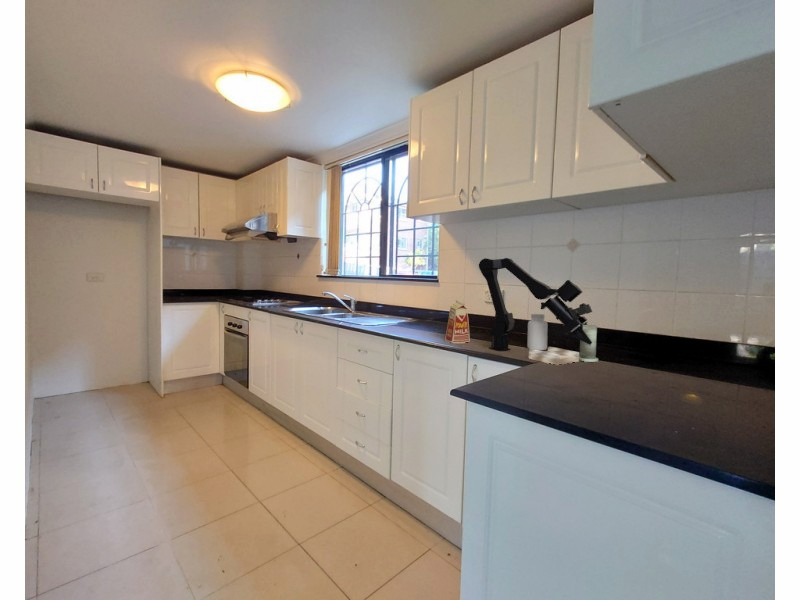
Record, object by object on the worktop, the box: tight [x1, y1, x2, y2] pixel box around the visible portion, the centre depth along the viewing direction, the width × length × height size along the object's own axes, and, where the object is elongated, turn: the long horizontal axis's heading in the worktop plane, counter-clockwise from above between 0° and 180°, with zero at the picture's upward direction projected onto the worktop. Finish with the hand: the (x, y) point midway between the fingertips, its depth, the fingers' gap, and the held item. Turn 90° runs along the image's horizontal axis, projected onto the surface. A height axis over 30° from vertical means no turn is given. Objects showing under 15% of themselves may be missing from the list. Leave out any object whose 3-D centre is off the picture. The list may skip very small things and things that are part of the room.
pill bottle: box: [526, 313, 549, 351], centre depth 147 cm, size 8×8×15 cm
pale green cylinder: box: [579, 324, 599, 363], centre depth 125 cm, size 7×7×13 cm
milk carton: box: [444, 299, 470, 344], centre depth 161 cm, size 9×9×20 cm
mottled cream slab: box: [528, 346, 580, 366], centre depth 125 cm, size 12×12×4 cm
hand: (592, 342), depth 124 cm, fingers open, 6 cm apart
